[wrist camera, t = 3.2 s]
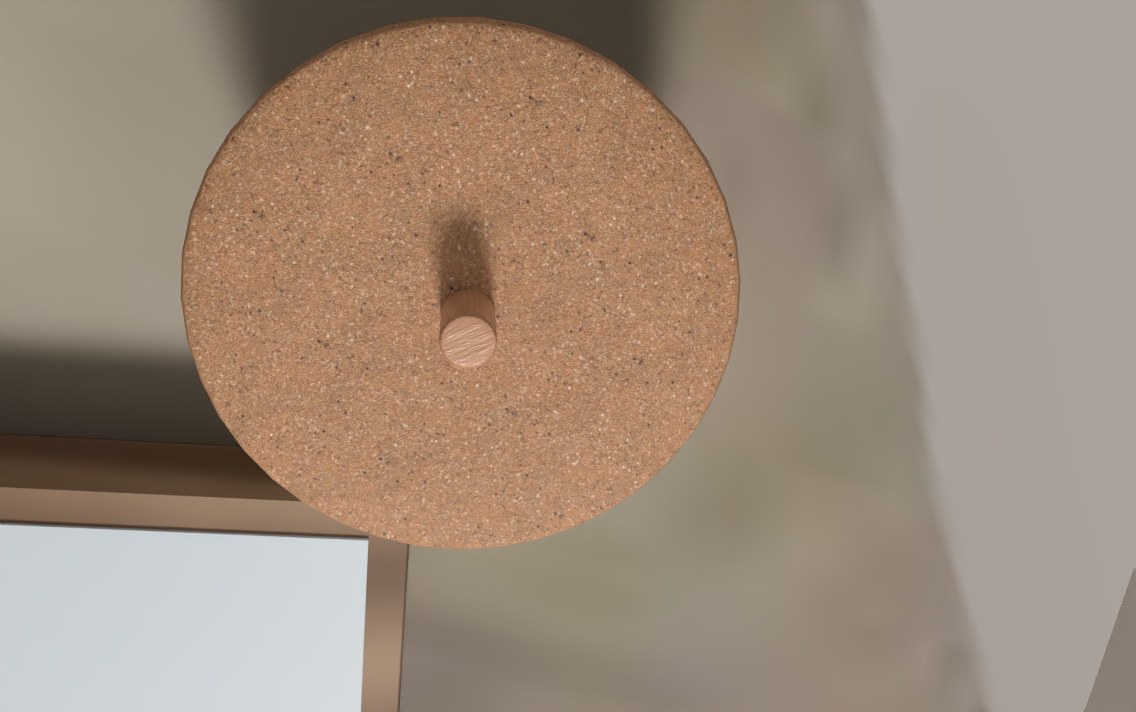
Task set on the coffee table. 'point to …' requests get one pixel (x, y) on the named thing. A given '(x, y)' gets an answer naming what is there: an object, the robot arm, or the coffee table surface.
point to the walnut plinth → (186, 586)
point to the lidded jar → (460, 283)
